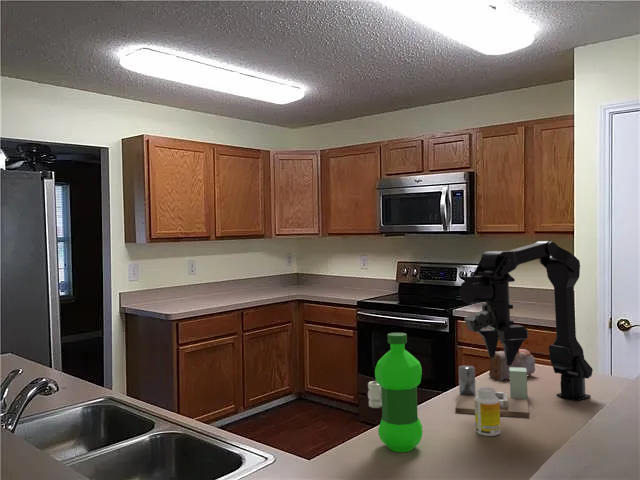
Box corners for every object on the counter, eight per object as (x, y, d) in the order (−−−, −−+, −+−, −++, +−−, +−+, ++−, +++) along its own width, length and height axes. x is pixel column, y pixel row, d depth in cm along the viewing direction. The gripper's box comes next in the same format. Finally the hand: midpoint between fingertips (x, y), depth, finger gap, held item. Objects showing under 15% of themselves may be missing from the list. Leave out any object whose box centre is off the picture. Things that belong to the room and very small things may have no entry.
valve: (368, 410, 148) (413, 409, 147) (367, 386, 148) (412, 384, 147) (367, 403, 154) (410, 402, 154) (366, 379, 154) (409, 378, 154)
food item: (520, 371, 183) (519, 342, 183) (537, 377, 175) (536, 346, 175) (486, 376, 178) (485, 346, 178) (503, 382, 170) (502, 350, 170)
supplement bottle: (505, 434, 126) (504, 389, 126) (487, 438, 124) (485, 393, 124) (488, 427, 131) (487, 384, 131) (470, 431, 129) (469, 388, 129)
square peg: (527, 395, 155) (526, 367, 155) (527, 400, 151) (526, 371, 151) (510, 395, 157) (509, 367, 157) (510, 399, 152) (509, 370, 152)
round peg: (467, 391, 161) (466, 364, 161) (479, 395, 158) (478, 367, 158) (456, 394, 159) (455, 367, 159) (467, 398, 155) (466, 369, 155)
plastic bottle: (434, 446, 120) (430, 333, 120) (403, 460, 113) (398, 340, 113) (399, 435, 128) (395, 328, 128) (368, 448, 121) (364, 335, 121)
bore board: (527, 403, 148) (526, 391, 148) (528, 417, 137) (528, 404, 137) (459, 399, 154) (458, 387, 154) (455, 412, 143) (454, 400, 143)
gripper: (453, 298, 148) (455, 356, 148) (484, 306, 129) (487, 372, 129) (492, 296, 149) (494, 353, 149) (528, 303, 131) (530, 368, 131)
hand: (500, 361), depth 140 cm, fingers open, 9 cm apart
